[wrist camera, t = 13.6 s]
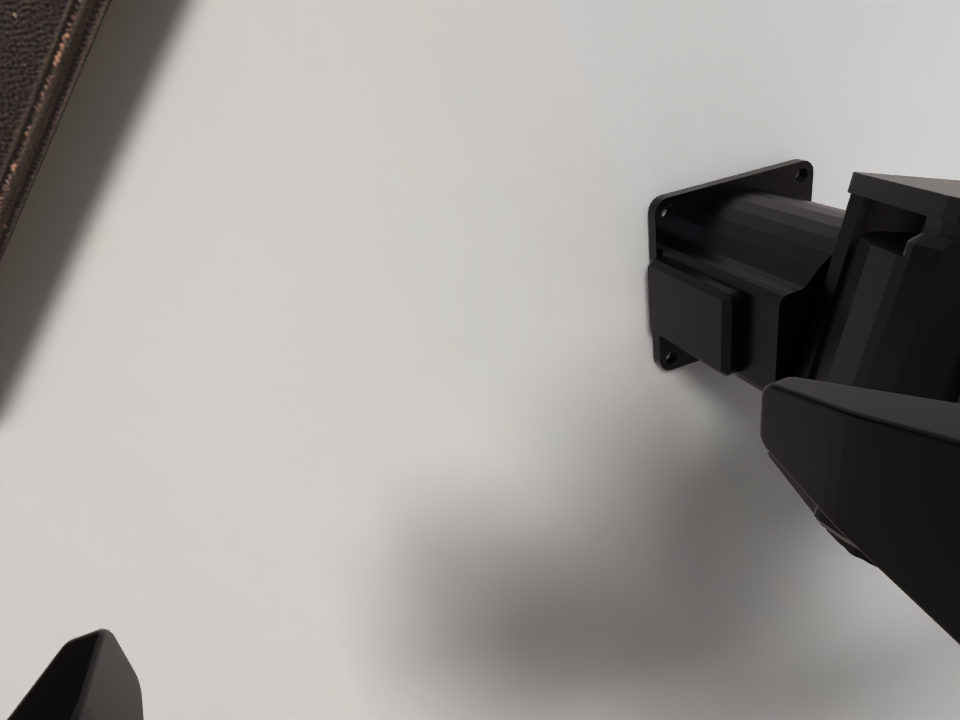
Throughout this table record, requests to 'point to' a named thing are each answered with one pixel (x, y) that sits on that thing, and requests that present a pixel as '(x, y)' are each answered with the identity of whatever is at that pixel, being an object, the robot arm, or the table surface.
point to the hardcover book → (37, 87)
